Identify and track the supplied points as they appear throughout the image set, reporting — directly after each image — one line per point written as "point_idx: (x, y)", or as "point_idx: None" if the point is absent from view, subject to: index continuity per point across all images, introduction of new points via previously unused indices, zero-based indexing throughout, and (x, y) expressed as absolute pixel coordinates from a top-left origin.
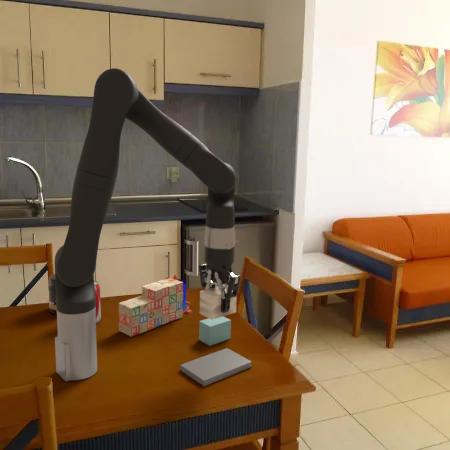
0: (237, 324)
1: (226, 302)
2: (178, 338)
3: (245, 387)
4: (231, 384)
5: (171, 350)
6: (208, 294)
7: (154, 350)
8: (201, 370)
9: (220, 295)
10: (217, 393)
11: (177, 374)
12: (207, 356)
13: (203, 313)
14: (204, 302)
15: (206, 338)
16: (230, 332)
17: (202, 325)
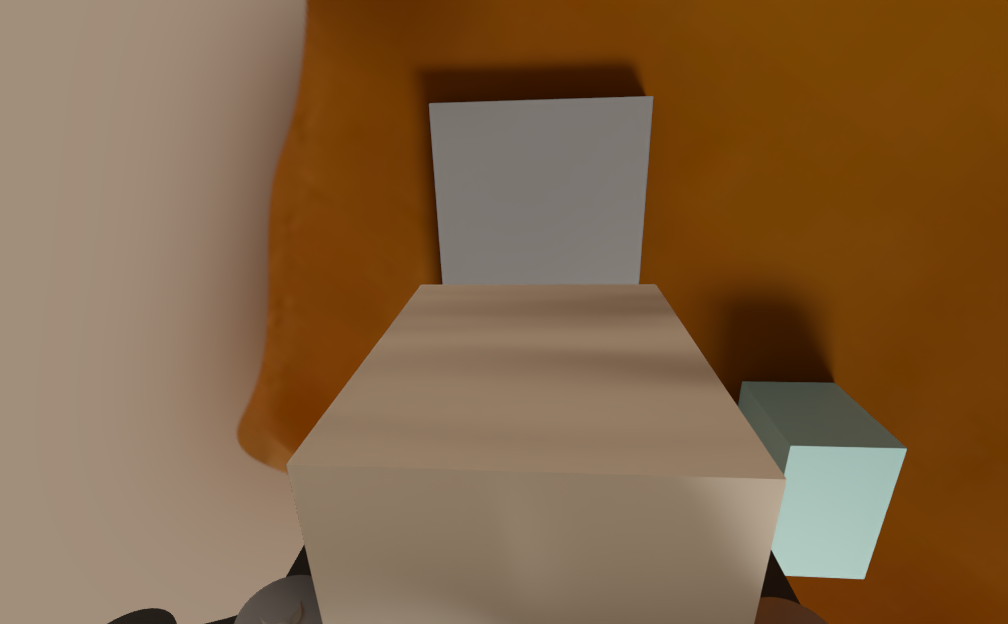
0: (804, 599)
1: (304, 556)
2: (941, 309)
3: (330, 259)
4: (381, 226)
5: (863, 192)
6: (456, 480)
7: (951, 104)
8: (524, 158)
9: (335, 614)
10: (349, 120)
11: (619, 55)
12: (625, 279)
13: (580, 291)
14: (575, 360)
15: (783, 397)
16: None
17: (861, 436)
